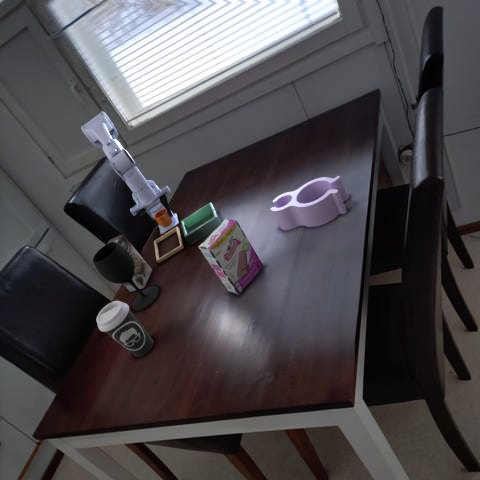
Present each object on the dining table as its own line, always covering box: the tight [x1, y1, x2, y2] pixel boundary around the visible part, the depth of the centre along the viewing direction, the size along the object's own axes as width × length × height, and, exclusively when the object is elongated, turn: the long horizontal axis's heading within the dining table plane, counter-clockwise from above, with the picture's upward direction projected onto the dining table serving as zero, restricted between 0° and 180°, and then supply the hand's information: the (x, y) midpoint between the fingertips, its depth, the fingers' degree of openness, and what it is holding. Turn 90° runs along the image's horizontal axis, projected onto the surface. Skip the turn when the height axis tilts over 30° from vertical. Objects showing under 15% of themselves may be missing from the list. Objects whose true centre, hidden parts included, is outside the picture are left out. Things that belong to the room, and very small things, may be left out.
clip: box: [270, 175, 350, 231], centre depth 126 cm, size 20×12×7 cm, turn 74°
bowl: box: [154, 209, 172, 228], centre depth 152 cm, size 5×5×4 cm
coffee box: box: [106, 234, 153, 293], centre depth 147 cm, size 9×6×16 cm
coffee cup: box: [95, 300, 154, 358], centre depth 120 cm, size 10×10×15 cm
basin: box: [180, 202, 222, 246], centre depth 154 cm, size 13×13×4 cm
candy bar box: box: [197, 218, 265, 296], centre depth 118 cm, size 11×5×16 cm, turn 135°
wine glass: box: [92, 242, 160, 312], centre depth 137 cm, size 10×10×20 cm
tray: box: [153, 226, 184, 264], centre depth 159 cm, size 15×10×2 cm
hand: (164, 220), depth 153 cm, fingers closed on bowl, 5 cm apart
